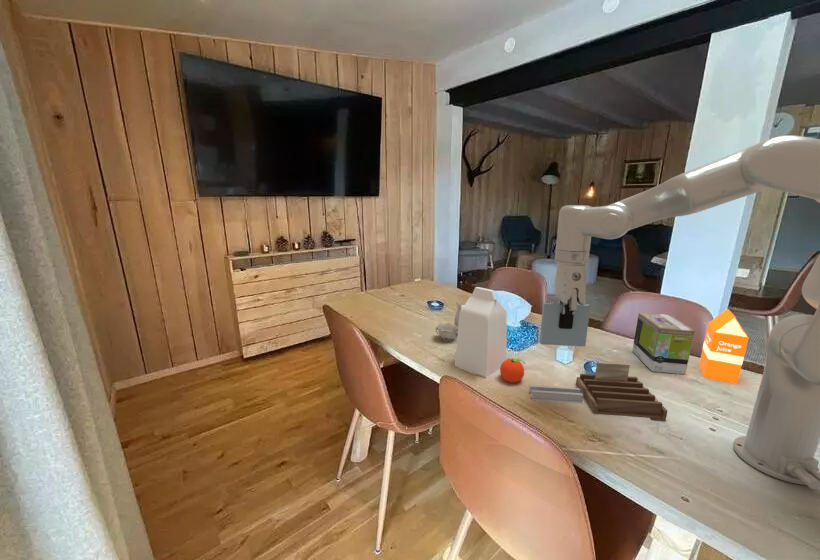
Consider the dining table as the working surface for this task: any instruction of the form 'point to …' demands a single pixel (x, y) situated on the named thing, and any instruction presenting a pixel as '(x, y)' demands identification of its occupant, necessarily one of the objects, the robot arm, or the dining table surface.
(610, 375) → the rack
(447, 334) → the chinaware
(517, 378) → the clementine
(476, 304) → the milk
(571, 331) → the grey upright panel
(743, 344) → the orange juice
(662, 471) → the dining table surface
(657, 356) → the tea box
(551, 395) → the stand
